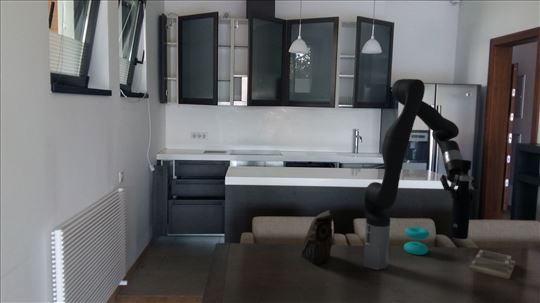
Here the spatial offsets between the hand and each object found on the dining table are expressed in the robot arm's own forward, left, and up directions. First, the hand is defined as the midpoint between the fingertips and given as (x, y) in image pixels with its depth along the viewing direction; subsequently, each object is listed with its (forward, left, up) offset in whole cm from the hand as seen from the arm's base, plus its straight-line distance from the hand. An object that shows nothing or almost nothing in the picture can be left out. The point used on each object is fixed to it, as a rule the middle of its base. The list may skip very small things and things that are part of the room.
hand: (464, 199), depth 162 cm
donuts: (+11, +20, -29) cm, 37 cm away
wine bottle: (+1, +1, -15) cm, 16 cm away
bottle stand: (+13, -10, -29) cm, 33 cm away
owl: (-24, +50, -29) cm, 62 cm away
